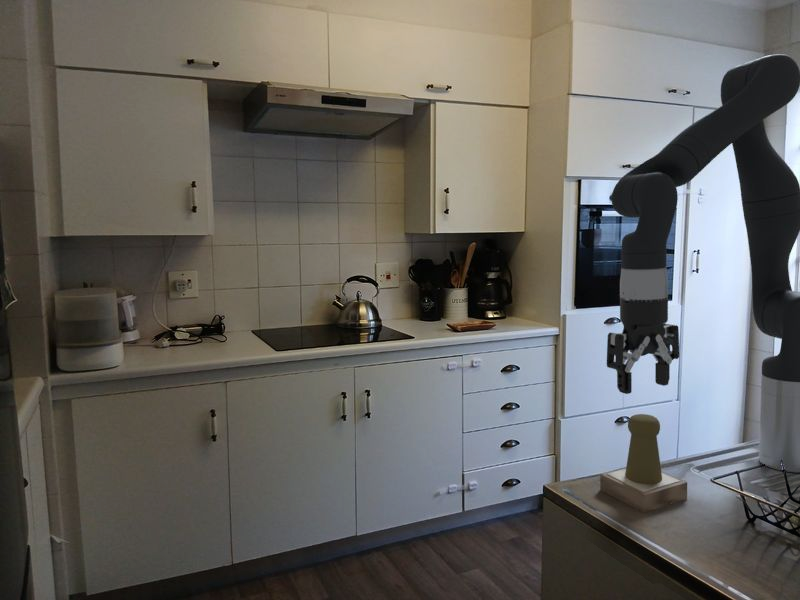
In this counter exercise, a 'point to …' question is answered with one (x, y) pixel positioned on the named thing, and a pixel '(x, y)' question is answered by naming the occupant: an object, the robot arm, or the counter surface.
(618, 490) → the base block
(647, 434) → the cork
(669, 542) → the counter surface
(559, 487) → the counter surface
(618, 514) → the counter surface
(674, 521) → the counter surface
